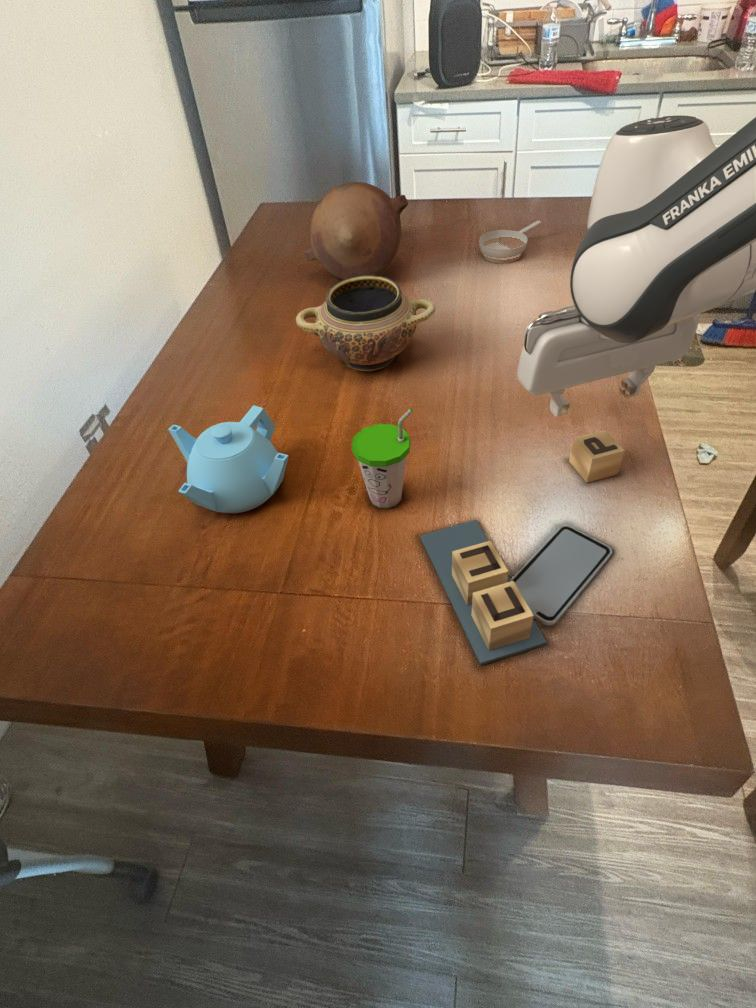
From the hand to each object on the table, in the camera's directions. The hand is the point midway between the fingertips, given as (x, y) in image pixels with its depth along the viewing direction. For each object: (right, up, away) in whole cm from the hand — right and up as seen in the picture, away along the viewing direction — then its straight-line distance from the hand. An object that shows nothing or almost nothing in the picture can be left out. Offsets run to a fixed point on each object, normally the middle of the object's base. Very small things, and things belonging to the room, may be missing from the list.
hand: (593, 403), depth 73 cm
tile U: (-14, -22, +1) cm, 26 cm away
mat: (-14, -22, +2) cm, 26 cm away
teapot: (-47, -10, +18) cm, 51 cm away
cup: (-25, -11, +14) cm, 31 cm away
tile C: (-12, -26, -3) cm, 29 cm away
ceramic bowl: (-28, +15, +40) cm, 50 cm away
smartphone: (-4, -21, +3) cm, 22 cm away
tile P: (+5, -7, +15) cm, 17 cm away
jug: (-29, +43, +67) cm, 85 cm away
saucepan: (+5, +47, +67) cm, 82 cm away
